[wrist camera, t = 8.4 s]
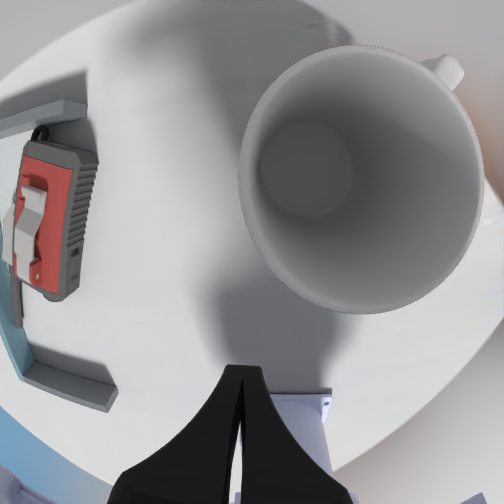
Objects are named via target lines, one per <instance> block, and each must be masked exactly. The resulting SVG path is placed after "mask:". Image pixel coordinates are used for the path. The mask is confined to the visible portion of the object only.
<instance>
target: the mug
mask: <svg viewBox="0 0 504 504" xmlns="http://www.w3.org/2000/svg"><path fill="white" fill-rule="evenodd" d="M463 76H464V71H463V69H462V68H461V66H460V64H459V63H458V62H457V61H456V60H455V59H454V58H453V57H452V56H450V55H448V54H444V55H442V56H441V57H439V58H436V59H429V60H426V61H423V62H420V63H419V62H417V61H415V60H414V59H412V58H410V57H407V56H405V55H403V54H401V53H398V52H395V51H392V50H389V49H385V48H381V47H376V46H369V45H345V46H338V47H333V48H329V49H325V50H322V51H319V52H316V53H314V54H311V55H309V56H307V57H305V58H303V59H302V60H300V61H298V62H297V63H295V64H294V65H292V66H291V67H289V68H288V69H287V70H286V71H284V72H283V73H282V74H281V75H280V76H279V77H278V78H277V79H276V80H275V81H274V82H273V83H272V84H271V85H270V86H269V88H268V89H267V90H266V91H265V93H264V94H263V96H262V97H261V99H260V100H259V102H258V103H257V105H256V107H255V109H254V111H253V113H252V115H251V117H250V119H249V122H248V125H247V127H246V130H245V133H244V137H243V141H242V146H241V151H240V158H239V173H238V179H239V193H240V200H241V206H242V210H243V214H244V218H245V221H246V225H247V227H248V230H249V233H250V235H251V238H252V240H253V242H254V244H255V246H256V248H257V250H258V251H259V253H260V255H261V256H262V258H263V259H264V261H265V262H266V264H267V265H268V266H269V268H270V269H271V270H272V272H273V273H274V274H275V275H276V276H277V277H278V278H279V279H280V280H281V281H282V282H283V283H284V284H285V285H286V286H287V287H288V288H289V289H291V290H292V291H293V292H295V293H296V294H297V295H299V296H301V297H302V298H304V299H306V300H308V301H310V302H312V303H314V304H316V305H318V306H321V307H323V308H326V309H329V310H333V311H337V312H342V313H349V314H376V313H383V312H388V311H392V310H395V309H398V308H401V307H404V306H406V305H409V304H411V303H413V302H415V301H417V300H419V299H420V298H422V297H424V296H425V295H427V294H428V293H430V292H431V291H432V290H434V289H435V288H436V287H437V286H439V285H440V284H441V283H442V282H443V281H444V280H445V279H446V278H447V277H448V276H449V275H450V274H451V273H452V271H453V270H454V269H455V268H456V267H457V265H458V264H459V262H460V261H461V259H462V258H463V256H464V255H465V253H466V251H467V249H468V248H469V246H470V244H471V241H472V239H473V237H474V234H475V232H476V229H477V226H478V223H479V219H480V215H481V211H482V205H483V198H484V167H483V160H482V154H481V150H480V145H479V142H478V138H477V135H476V133H475V130H474V127H473V125H472V123H471V120H470V118H469V116H468V114H467V113H466V111H465V109H464V107H463V106H462V104H461V103H460V101H459V99H458V98H457V97H456V95H455V94H454V93H453V91H452V90H453V89H454V88H455V87H456V86H457V85H458V83H459V82H460V81H461V80H462V78H463Z"/></svg>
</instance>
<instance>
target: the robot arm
mask: <svg viewBox="0 0 504 504" xmlns="http://www.w3.org/2000/svg"><path fill="white" fill-rule="evenodd" d="M332 401H333V397H332V395H331V394H308V395H282V394H269V392H268V390H267V387H266V384H265V381H264V378H263V374H262V369H261V368H260V367H259V366H245V365H231V364H228V365H227V366H225V369H224V372H223V374H222V376H221V378H220V380H219V382H218V384H217V386H216V387H215V389H214V390H213V392H212V394H211V395H210V397H209V398H208V400H207V401H206V402H205V404H204V405H203V406H202V408H201V409H200V410H199V412H198V413H197V414H196V415H195V417H194V418H193V419H192V420H191V421H190V422H189V423H188V424H187V425H186V426H185V427H184V429H183V430H182V431H180V432H179V433H178V434H177V435H176V436H175V437H174V438H173V439H172V440H171V441H169V442H168V443H167V444H166V445H165V446H163V447H162V448H161V449H159V450H158V451H157V452H155V453H154V454H152V455H151V456H150V457H148V458H147V459H145V460H144V461H142V462H140V463H138V464H137V465H135V466H133V467H131V468H130V469H128V470H126V471H124V472H122V474H121V475H120V476H119V478H118V479H117V481H116V483H115V485H114V486H113V489H112V491H111V494H110V497H109V500H108V502H107V504H359V501H358V498H357V496H356V494H355V493H353V492H351V491H349V490H348V489H346V488H345V487H344V486H342V485H341V484H340V483H338V482H337V481H336V480H335V479H333V473H332V468H331V463H330V457H329V452H328V447H327V442H326V437H325V432H324V427H323V425H324V423H325V420H326V417H327V415H328V412H329V409H330V406H331V404H332ZM325 402H326V403H325ZM240 424H241V444H240V449H241V450H242V484H241V492H236V493H235V503H229V492H230V479H231V469H232V462H233V457H234V451H235V446H236V441H237V435H238V430H239V425H240ZM0 504H58V503H56V502H54V501H52V500H50V499H48V498H46V497H45V496H43V495H41V494H39V493H38V492H36V491H34V490H33V489H31V488H29V487H28V486H26V485H25V484H23V483H22V481H20V479H18V477H16V476H15V475H14V474H13V473H12V472H11V471H9V470H8V469H6V468H5V467H4V466H2V465H1V464H0ZM460 504H487V502H486V500H485V498H484V496H483V494H482V493H479V494H477V495H475V496H473V497H471V498H469V499H468V500H466V501H464V502H462V503H460Z"/></svg>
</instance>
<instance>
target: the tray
mask: <svg viewBox="0 0 504 504" xmlns="http://www.w3.org/2000/svg"><path fill="white" fill-rule="evenodd" d="M86 115H87V105H86V104H82V103H78V102H74V101H70V100H66V99H62V100H58V101H55V102H51V103H48V104H44V105H41V106H38V107H35V108H32V109H29V110H26V111H23V112H20V113H17V114H14V115H12V116H9V117H6V118H4V119H1V120H0V139H2V138H5V137H8V136H11V135H15V134H18V133H22V132H25V131H29V130H32V129H35V128H36V127H37V126H39V125H41V126H48V125H53V124H57V123H62V122H66V121H71V120H77V119H82V118H86ZM2 251H3V240H2V232H1V224H0V335H1V337H2V340H3V342H4V345H5V347H6V350H7V352H8V355H9V357H10V359H11V362H12V364H13V366H14V368H15V371H16V373H17V375H18V377H19V379H20V380H21V381H23V382H26V383H28V384H30V385H32V386H34V387H37V388H39V389H41V390H43V391H46V392H48V393H51V394H53V395H56V396H58V397H61V398H64V399H66V400H69V401H72V402H74V403H77V404H80V405H83V406H86V407H89V408H92V409H96V410H99V411H102V412H105V413H108V412H109V410H110V408H111V406H112V404H113V403H114V401H115V399H116V397H117V395H118V390H117V387H116V386H113V385H109V384H105V383H101V382H97V381H94V380H90V379H87V378H83V377H80V376H77V375H74V374H70V373H67V372H64V371H61V370H58V369H55V368H53V367H50V366H47V365H44V364H42V363H39V362H36V361H35V359H34V357H33V354H32V351H31V349H30V346H29V343H28V341H27V338H26V335H25V332H24V329H23V327H22V328H21V329H17V328H16V327H15V323H14V315H13V306H12V296H11V283H10V278H9V274H8V269H7V264H6V262H5V261H4V260H2Z"/></svg>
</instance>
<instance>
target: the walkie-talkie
mask: <svg viewBox="0 0 504 504" xmlns="http://www.w3.org/2000/svg"><path fill="white" fill-rule="evenodd" d="M40 132H42V136H41V140H38V136H39V134H40ZM48 138H49V130H48V128H47V127H45V126H41V125H39V126H37V127H36V128H35V129H34V131H33V133H32V136H31V140H28V142H27V143H26V145H25V146H24V148H23V153H22V159H21V165H20V168H19V175H18V181H17V189H16V196H15V198H14V203H13V204H12V206H11V207H10V209H9V210H8V212H7V214H6V215H5V217H4V221H3V251H2V260H4V261H5V262H7V263H8V264H9V273H10V282H11V296H12V306H13V315H14V323H15V327H16V328H17V329H21V328H22V327H23V320H22V310H21V298H20V281H22V282H23V283H24V284H25V285H28V286H30V287H32V288H33V289H35V290H37V291H39V292H40V293H42V294H43V296H44V297H45V298H46V299H47V300H48V301H51V302H59V301H61V302H62V301H63V300H64V299H65V298H66V297H68V296H69V295H70V294H71V293H73V292H74V291H75V290H76V289H77V288H78V287H79V281H80V269H81V260H82V251H83V243H84V238H83V236H84V234H85V232H84V229H85V228H86V225H85V223H86V221H87V218H86V217H87V214H88V208H89V206H90V205H89V201H90V200H91V198H90V196H91V193H92V186H94V183H93V182H94V179H95V178H96V177H95V173H96V172H97V165H98V164H99V162H98V160H97V157H96V154H95V153H94V152H90V151H87V150H83V149H79V148H75V147H72V146H68V145H64V144H60V143H56V142H52V141H48Z"/></svg>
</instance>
